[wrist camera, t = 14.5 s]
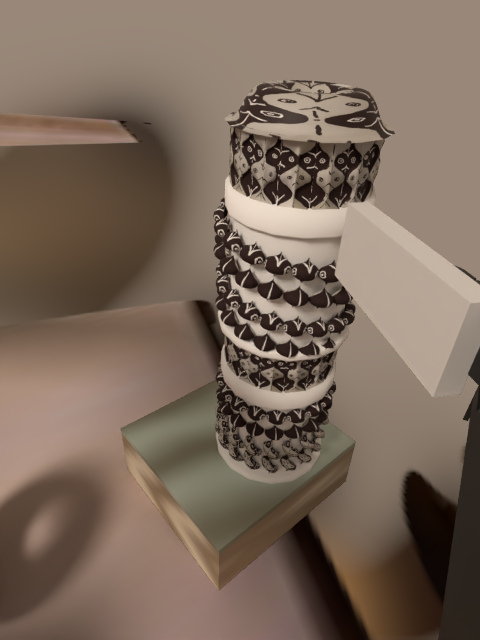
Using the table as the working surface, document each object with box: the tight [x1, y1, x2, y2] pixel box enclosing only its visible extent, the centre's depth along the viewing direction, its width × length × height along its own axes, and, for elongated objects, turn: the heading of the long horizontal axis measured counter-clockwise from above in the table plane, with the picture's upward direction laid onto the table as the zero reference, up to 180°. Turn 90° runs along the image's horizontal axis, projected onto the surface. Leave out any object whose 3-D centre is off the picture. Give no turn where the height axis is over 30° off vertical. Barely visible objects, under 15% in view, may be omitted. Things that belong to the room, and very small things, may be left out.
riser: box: [121, 380, 355, 590], centre depth 36 cm, size 13×14×5 cm
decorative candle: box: [214, 80, 395, 484], centre depth 27 cm, size 9×9×25 cm
